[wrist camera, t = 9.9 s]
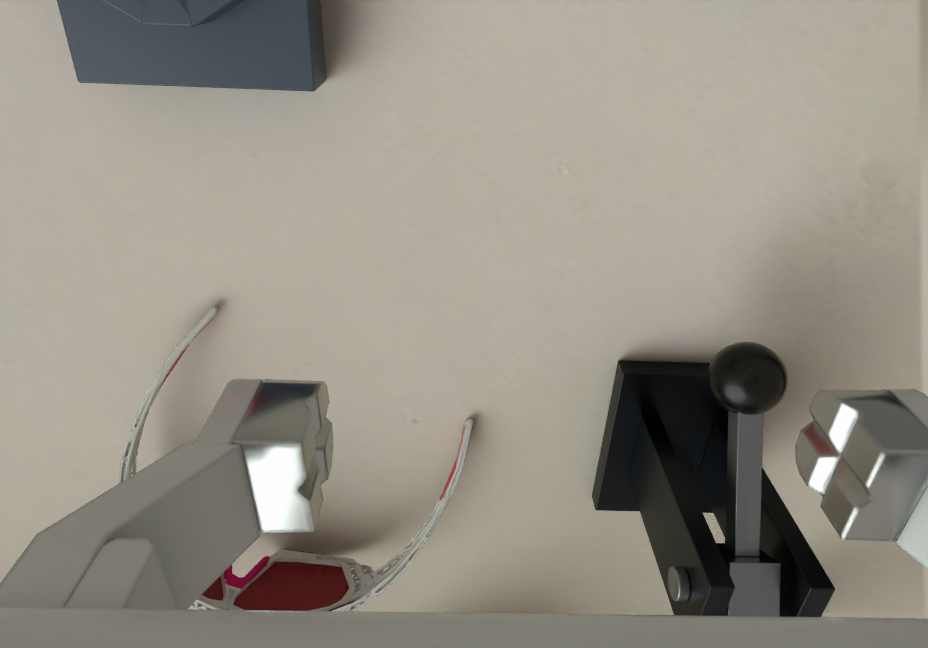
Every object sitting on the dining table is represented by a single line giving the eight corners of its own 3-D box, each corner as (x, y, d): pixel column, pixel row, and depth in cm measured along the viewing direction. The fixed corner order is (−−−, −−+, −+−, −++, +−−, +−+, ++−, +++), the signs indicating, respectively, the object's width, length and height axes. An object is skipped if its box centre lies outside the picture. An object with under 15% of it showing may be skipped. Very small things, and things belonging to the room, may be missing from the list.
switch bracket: (618, 360, 33) (689, 536, 23) (765, 364, 33) (901, 541, 23) (591, 495, 38) (640, 690, 28) (720, 498, 38) (815, 692, 28)
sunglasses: (105, 512, 38) (64, 571, 33) (207, 276, 34) (177, 308, 29) (362, 599, 43) (358, 662, 38) (484, 401, 38) (496, 446, 33)
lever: (696, 340, 29) (727, 341, 26) (764, 342, 29) (804, 344, 26) (689, 600, 29) (720, 634, 25) (758, 601, 29) (797, 635, 26)
